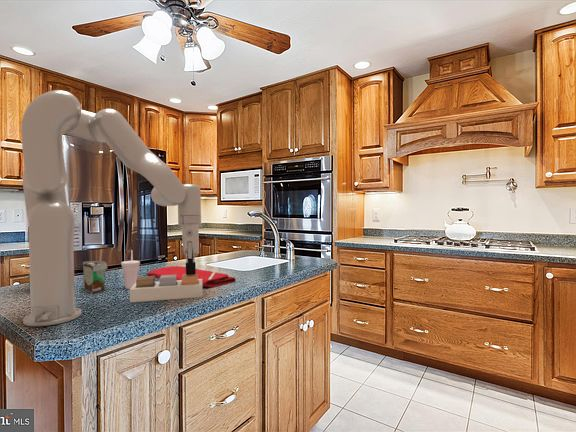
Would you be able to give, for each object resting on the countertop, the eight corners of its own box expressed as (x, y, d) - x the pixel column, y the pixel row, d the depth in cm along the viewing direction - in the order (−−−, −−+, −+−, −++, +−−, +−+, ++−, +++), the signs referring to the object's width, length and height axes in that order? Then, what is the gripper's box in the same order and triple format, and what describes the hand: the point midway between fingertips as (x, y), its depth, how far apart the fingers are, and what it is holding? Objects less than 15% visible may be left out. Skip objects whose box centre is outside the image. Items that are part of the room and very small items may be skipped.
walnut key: (153, 288, 105) (152, 278, 105) (136, 289, 104) (136, 279, 104) (155, 285, 110) (154, 275, 110) (139, 286, 109) (138, 276, 109)
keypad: (202, 297, 107) (202, 285, 107) (129, 302, 101) (129, 289, 101) (202, 289, 117) (202, 278, 117) (135, 294, 111) (135, 282, 111)
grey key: (175, 287, 107) (175, 277, 107) (159, 288, 106) (159, 278, 106) (176, 283, 112) (176, 274, 112) (161, 284, 111) (161, 275, 110)
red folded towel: (178, 271, 155) (178, 263, 155) (236, 283, 130) (236, 273, 129) (146, 276, 143) (146, 268, 143) (204, 291, 117) (204, 280, 117)
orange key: (197, 285, 109) (197, 276, 109) (182, 286, 108) (182, 277, 108) (197, 282, 114) (197, 273, 114) (182, 283, 112) (182, 274, 112)
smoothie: (132, 290, 117) (132, 251, 116) (117, 289, 118) (116, 251, 118) (144, 286, 123) (143, 249, 123) (129, 285, 124) (128, 249, 124)
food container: (113, 291, 116) (112, 263, 115) (93, 294, 111) (93, 265, 111) (101, 285, 124) (101, 259, 124) (83, 288, 119) (82, 261, 119)
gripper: (201, 221, 104) (202, 277, 105) (200, 219, 119) (201, 269, 119) (176, 221, 102) (177, 279, 103) (179, 220, 117) (180, 270, 117)
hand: (190, 274), depth 111 cm, fingers closed
